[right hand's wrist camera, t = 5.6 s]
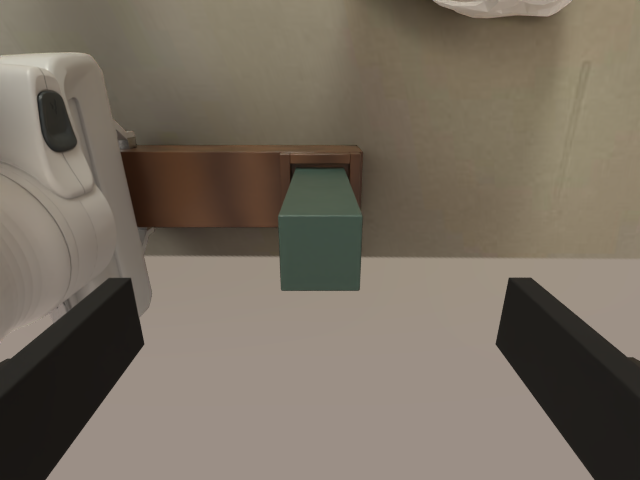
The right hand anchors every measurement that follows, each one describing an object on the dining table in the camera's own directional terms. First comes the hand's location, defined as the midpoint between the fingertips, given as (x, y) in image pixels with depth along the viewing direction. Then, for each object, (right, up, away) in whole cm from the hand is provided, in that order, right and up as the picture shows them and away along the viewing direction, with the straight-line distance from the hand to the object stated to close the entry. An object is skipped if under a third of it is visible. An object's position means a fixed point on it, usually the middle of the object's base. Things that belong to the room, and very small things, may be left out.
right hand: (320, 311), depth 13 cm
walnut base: (-8, +8, +23) cm, 26 cm away
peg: (0, +7, +18) cm, 19 cm away
